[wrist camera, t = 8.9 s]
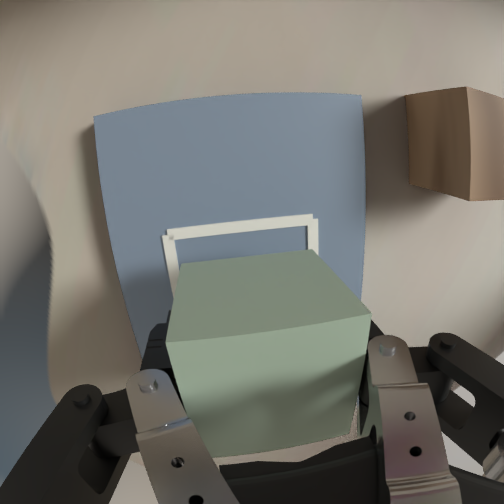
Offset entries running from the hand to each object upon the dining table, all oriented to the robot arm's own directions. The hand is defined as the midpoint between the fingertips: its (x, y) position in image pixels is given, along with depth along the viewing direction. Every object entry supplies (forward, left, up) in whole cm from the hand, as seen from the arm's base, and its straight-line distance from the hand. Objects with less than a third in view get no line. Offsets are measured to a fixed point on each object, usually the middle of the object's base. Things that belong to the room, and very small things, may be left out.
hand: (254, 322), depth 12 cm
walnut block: (-12, -7, -4) cm, 14 cm away
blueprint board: (0, 0, -4) cm, 4 cm away
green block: (0, 0, -1) cm, 1 cm away
